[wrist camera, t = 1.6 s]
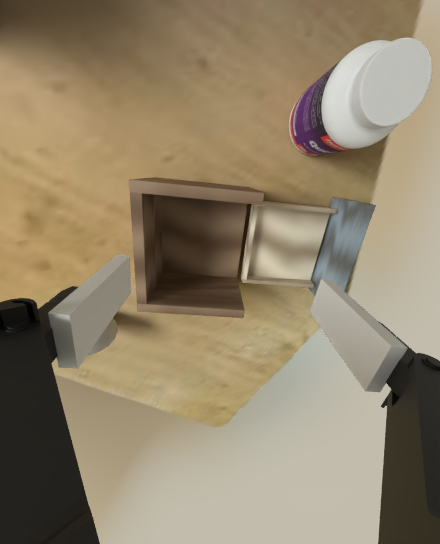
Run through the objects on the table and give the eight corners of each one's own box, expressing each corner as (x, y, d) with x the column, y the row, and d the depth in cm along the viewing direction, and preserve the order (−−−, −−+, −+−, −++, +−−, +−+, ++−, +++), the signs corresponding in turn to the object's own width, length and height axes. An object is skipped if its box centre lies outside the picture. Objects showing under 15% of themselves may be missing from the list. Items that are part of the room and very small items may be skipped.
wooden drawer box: (154, 177, 32) (129, 179, 22) (248, 187, 33) (264, 193, 23) (156, 275, 39) (137, 311, 29) (235, 281, 40) (243, 317, 30)
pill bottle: (285, 158, 32) (336, 148, 19) (287, 89, 29) (351, 18, 16) (340, 153, 32) (431, 140, 19) (349, 83, 29) (466, 8, 15)
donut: (126, 310, 42) (102, 349, 33) (125, 325, 43) (102, 366, 34) (70, 302, 41) (29, 340, 31) (71, 317, 42) (32, 358, 33)
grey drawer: (252, 189, 33) (264, 194, 26) (346, 198, 34) (385, 206, 27) (239, 281, 40) (245, 307, 32) (318, 287, 41) (343, 313, 33)
